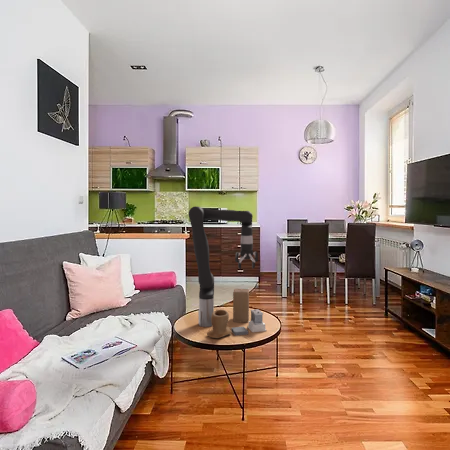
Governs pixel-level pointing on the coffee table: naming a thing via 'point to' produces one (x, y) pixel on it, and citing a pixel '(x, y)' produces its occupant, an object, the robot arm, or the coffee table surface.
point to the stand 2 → (256, 327)
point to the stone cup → (219, 324)
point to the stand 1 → (239, 331)
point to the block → (241, 305)
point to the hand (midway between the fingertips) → (246, 268)
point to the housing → (256, 317)
